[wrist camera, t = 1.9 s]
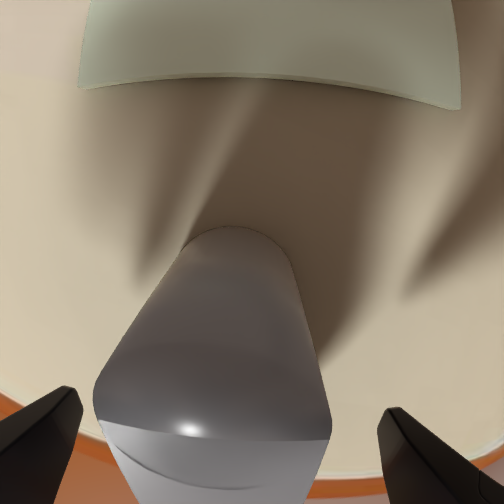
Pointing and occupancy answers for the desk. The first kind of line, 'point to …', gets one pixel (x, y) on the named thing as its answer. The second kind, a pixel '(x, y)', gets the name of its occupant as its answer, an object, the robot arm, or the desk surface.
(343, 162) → the desk surface
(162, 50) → the sage pad
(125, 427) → the rounded connector
